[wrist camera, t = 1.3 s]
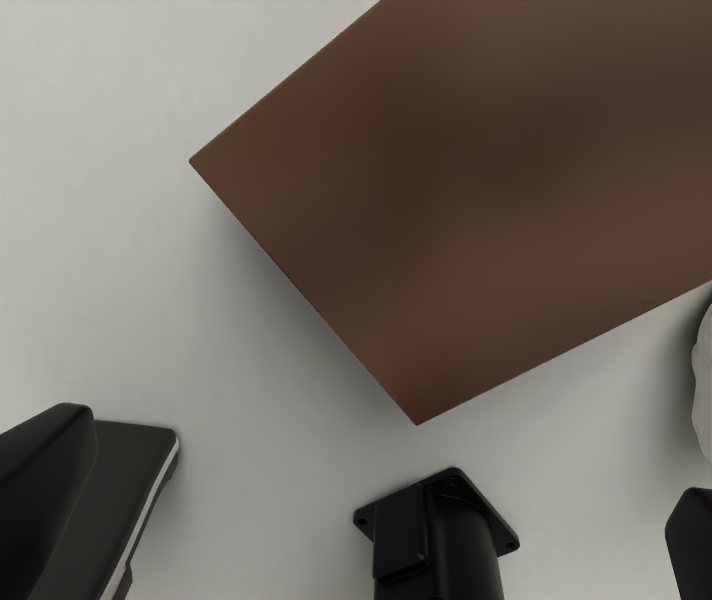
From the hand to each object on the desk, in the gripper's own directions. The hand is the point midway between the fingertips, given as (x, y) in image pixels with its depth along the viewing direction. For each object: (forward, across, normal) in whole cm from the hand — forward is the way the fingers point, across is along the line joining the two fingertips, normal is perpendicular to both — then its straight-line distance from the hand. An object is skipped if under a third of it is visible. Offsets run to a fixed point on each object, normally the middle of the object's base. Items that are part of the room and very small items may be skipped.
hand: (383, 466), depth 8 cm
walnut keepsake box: (+14, -4, -3) cm, 14 cm away
